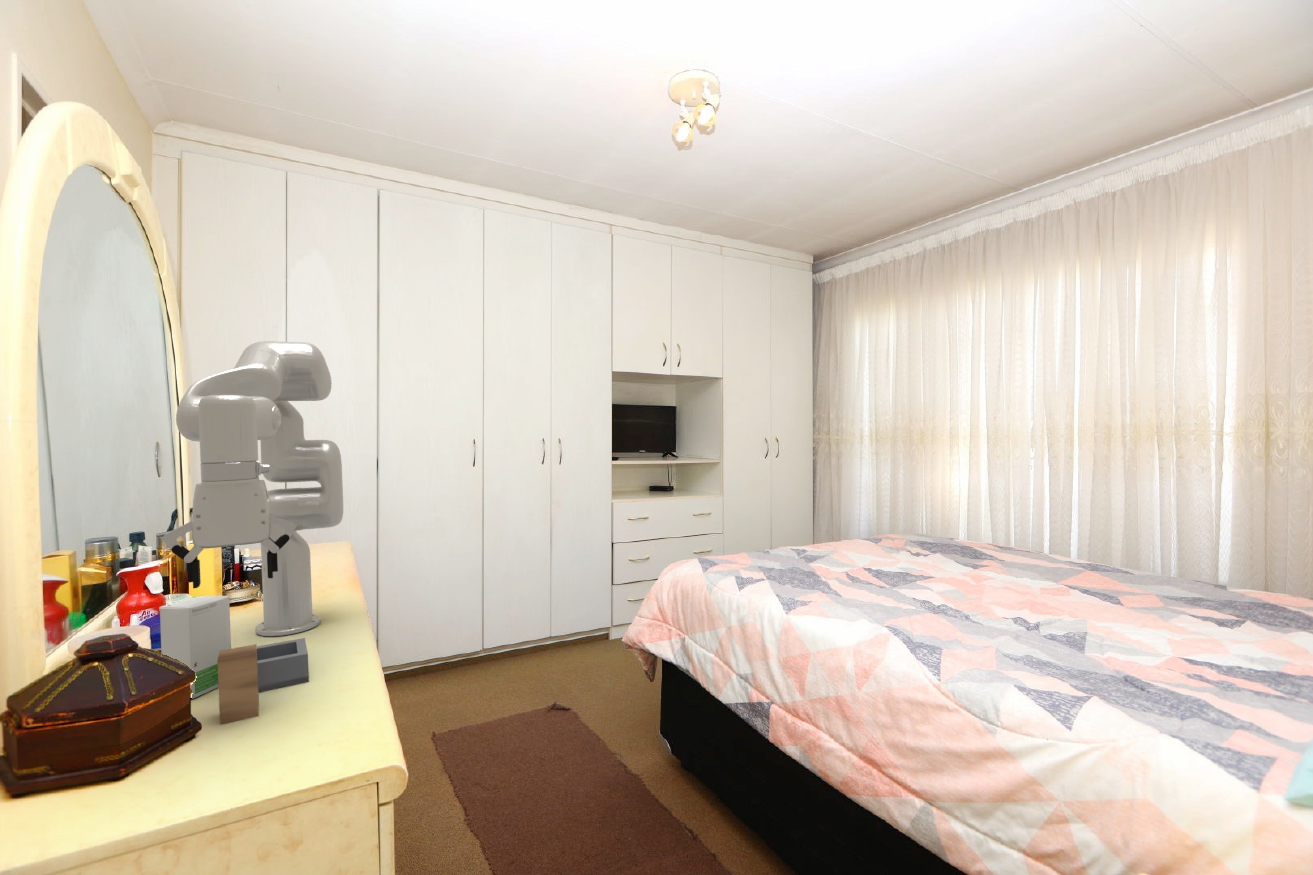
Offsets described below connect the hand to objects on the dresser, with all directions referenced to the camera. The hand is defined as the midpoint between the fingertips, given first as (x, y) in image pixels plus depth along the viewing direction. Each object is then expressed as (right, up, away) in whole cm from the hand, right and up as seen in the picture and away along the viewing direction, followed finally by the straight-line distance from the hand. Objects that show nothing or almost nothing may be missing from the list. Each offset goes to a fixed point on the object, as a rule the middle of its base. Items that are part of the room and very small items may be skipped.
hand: (234, 581), depth 98 cm
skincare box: (-14, -22, +11) cm, 28 cm away
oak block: (0, -21, +1) cm, 21 cm away
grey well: (-2, -21, +14) cm, 25 cm away
